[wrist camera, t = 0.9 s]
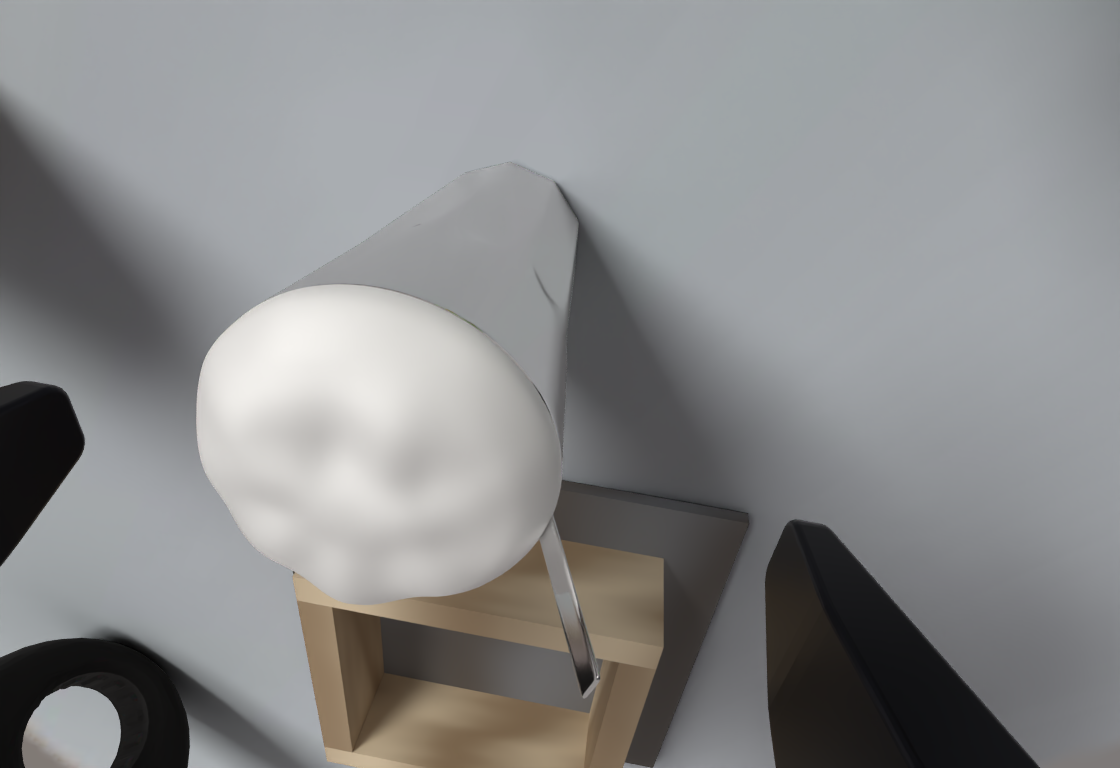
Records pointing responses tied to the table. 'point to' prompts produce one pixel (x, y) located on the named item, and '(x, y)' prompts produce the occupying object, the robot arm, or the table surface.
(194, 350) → the table surface
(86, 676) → the controller
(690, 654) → the wooden frame tray
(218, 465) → the milkshake
